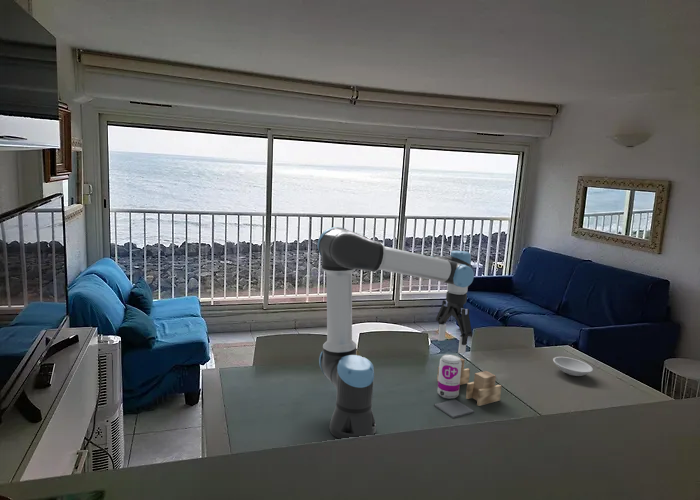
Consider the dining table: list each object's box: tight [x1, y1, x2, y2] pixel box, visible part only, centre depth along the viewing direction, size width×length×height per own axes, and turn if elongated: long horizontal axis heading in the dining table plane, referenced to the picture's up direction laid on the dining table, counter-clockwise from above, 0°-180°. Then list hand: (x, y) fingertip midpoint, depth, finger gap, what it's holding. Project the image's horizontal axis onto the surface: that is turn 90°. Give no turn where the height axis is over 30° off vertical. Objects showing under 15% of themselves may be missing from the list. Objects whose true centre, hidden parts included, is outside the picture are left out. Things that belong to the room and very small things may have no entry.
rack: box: [436, 356, 502, 407], centre depth 194 cm, size 11×24×10 cm, turn 30°
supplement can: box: [437, 354, 462, 400], centre depth 188 cm, size 8×8×15 cm
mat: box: [433, 398, 475, 419], centre depth 178 cm, size 10×10×1 cm
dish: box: [552, 356, 594, 377], centre depth 215 cm, size 18×14×5 cm
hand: (451, 346), depth 186 cm, fingers open, 13 cm apart
